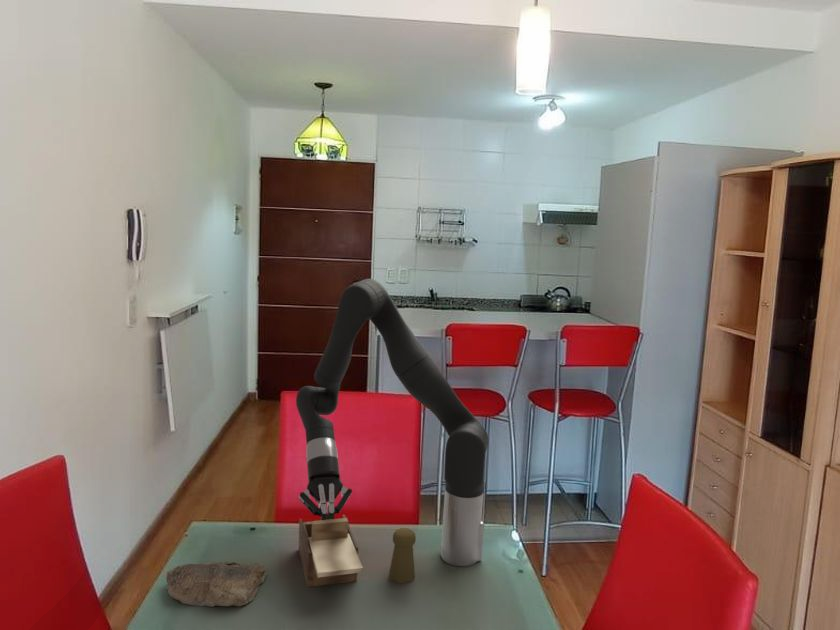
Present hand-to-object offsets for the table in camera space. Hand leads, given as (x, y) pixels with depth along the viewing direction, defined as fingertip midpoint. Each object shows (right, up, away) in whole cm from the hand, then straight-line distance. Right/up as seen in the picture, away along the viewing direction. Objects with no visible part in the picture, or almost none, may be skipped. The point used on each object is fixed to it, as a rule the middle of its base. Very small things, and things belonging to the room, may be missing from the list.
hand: (329, 531), depth 147 cm
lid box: (-1, -8, +2) cm, 9 cm away
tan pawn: (+17, -10, 0) cm, 20 cm away
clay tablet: (-24, -10, -9) cm, 27 cm away
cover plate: (+2, -3, -7) cm, 8 cm away
